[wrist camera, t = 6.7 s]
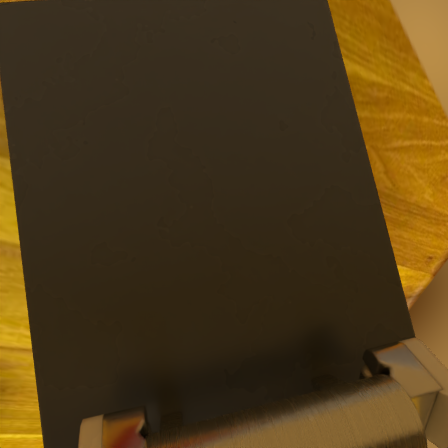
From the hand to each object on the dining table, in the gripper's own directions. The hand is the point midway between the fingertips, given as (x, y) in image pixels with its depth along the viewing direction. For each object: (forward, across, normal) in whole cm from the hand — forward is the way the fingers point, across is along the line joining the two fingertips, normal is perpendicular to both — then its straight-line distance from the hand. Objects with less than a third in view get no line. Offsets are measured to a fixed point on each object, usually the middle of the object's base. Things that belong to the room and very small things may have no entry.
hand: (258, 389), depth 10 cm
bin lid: (+6, 0, -2) cm, 6 cm away
